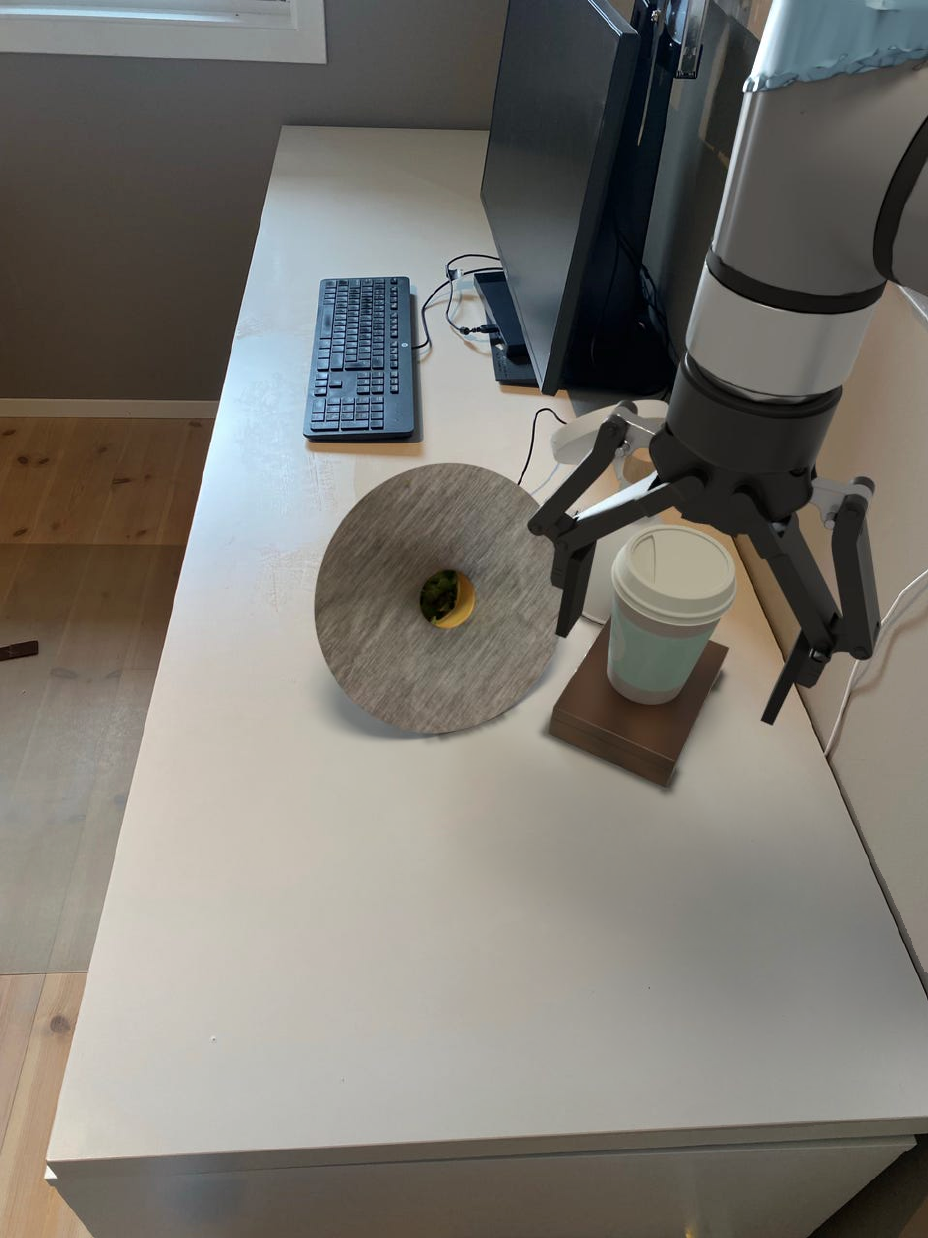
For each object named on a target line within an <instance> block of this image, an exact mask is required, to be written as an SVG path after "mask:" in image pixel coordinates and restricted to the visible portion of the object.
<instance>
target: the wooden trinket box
mask: <svg viewBox="0 0 928 1238" xmlns="http://www.w3.org/2000/svg"><path fill="white" fill-rule="evenodd" d="M611 618H612V613H611V615H610V616H609V618H608V619H607V621H606V623H605V624H603V626H602V627H601V629H600V630H599V633H598V634H597V636H596V637H595V639H594V640H593V642H592V643H591V645H590V647H589V649H588V650H587V651H586V653H585V655H584V657H583V658H582V660H581V661H580V663H579V665H578V666H577V668H576V669H575V670H574V673H573V674H572V676H571V678H570V679H569V680H568V682H567V684H566V685H565V687H564V689H563V691H562V692H561V693H560V694H559V695H560V696H559V697H558V699H557V700H556V701H555V703H554V705H553V707H552V712H551V716H550V722H549V726H548V732H547V733H548V734H549V735H552V736H553V737H556V738H558V739H560V740H562V741H564V742H567V743H569V744H571V745H573V746H574V747H577V748H580V749H582V750H584V751H586V752H588V753H591V754H593V755H595V756H597V757H599V758H601V759H604V760H606V761H607V762H610V763H612V764H614V765H617V766H619V767H621V768H623V769H625V770H628V771H630V772H632V773H634V774H637V775H639V776H641V777H643V778H645V779H647V780H650V781H652V782H654V783H656V784H658V785H660V786H662V787H664V788H668V785H669V783H670V781H671V779H672V777H673V775H674V772H675V769H676V767H677V765H678V762H679V760H680V756H681V755H682V753H683V750H684V748H685V746H686V744H687V742H688V740H689V738H690V735H691V733H692V731H693V729H694V727H695V725H696V723H697V720H698V718H699V716H700V714H701V712H702V710H703V708H704V705H705V703H706V701H707V699H708V697H709V694H710V693H711V690H712V688H713V687H714V686H715V684H716V683H717V681H718V678H719V676H720V674H721V670H722V668H723V666H724V664H725V661H726V659H727V655H728V653H729V651H730V647H729V646H727V645H724V644H721V643H719V642H716V641H713V640H711V639H709V641H708V643H707V644H706V646H705V648H704V650H703V652H702V653H701V655H700V657H699V659H698V661H697V662H696V664H695V666H694V668H693V670H692V671H691V673H690V675H689V677H688V679H687V680H686V682H685V684H684V686H683V687H682V689H681V691H680V693H679V694H678V695H677V696H676V697H675V698H674V699H672V700H671V701H669V702H666V703H663V704H657V705H646V704H641V703H637V702H634V701H631V700H629V699H627V698H626V697H624V696H622V695H621V694H620V693H619V692H618V691H616V689H615V688H614V687H613V686H612V684H611V683H610V681H609V678H608V674H607V667H608V653H609V641H610V630H611Z"/></svg>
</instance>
